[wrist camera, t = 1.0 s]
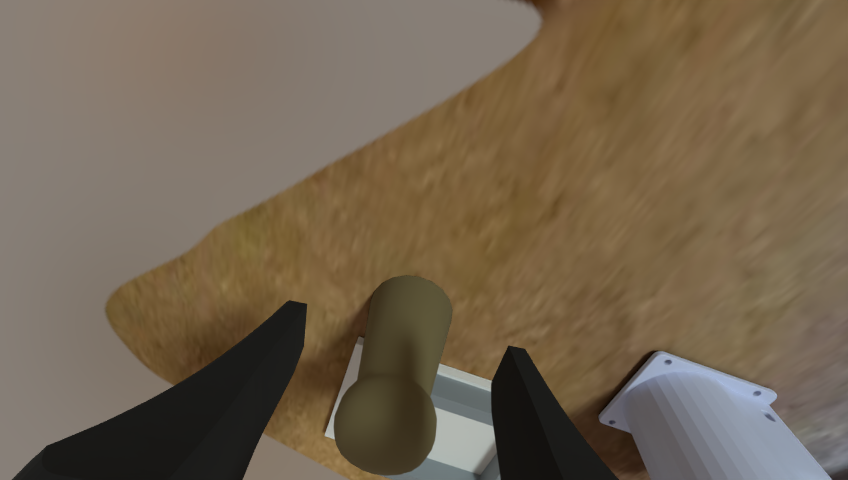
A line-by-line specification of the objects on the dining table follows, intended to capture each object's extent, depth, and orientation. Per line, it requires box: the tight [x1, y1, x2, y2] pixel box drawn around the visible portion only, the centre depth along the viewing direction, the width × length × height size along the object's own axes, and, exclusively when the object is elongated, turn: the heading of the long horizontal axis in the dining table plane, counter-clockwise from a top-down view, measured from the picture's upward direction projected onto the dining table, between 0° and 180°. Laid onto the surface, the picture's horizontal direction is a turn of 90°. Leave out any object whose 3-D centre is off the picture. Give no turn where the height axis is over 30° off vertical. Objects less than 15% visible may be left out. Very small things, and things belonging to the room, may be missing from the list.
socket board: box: [325, 337, 501, 480], centre depth 31 cm, size 16×12×3 cm
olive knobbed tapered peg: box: [333, 275, 452, 476], centre depth 22 cm, size 6×6×11 cm
